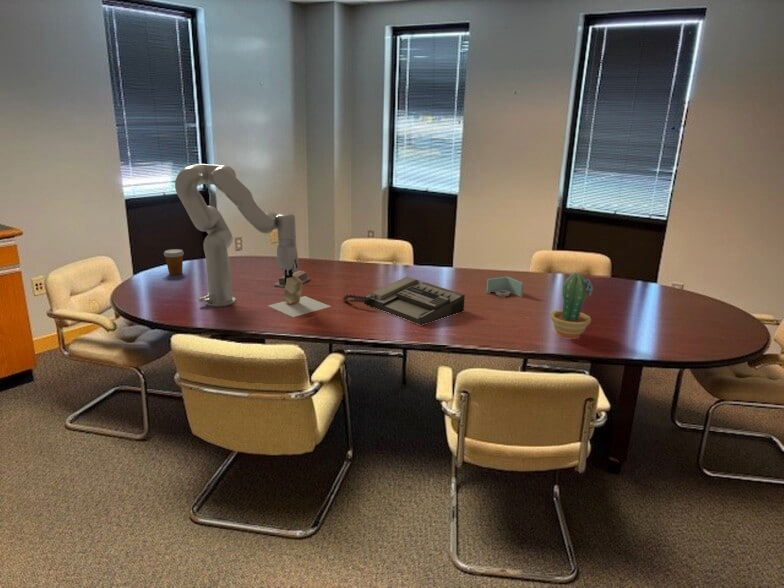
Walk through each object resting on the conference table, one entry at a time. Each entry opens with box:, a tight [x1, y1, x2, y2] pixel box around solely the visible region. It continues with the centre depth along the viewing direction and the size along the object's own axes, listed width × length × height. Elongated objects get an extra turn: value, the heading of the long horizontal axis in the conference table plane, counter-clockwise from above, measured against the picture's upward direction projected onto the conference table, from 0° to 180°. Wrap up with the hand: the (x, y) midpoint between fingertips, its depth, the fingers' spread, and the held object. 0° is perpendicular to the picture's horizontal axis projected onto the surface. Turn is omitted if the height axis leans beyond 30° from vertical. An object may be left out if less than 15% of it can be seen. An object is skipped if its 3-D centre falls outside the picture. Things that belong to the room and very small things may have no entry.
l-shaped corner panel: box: [485, 276, 525, 297], centre depth 265 cm, size 12×12×8 cm
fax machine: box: [341, 276, 466, 325], centre depth 246 cm, size 45×34×10 cm
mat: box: [267, 295, 331, 318], centre depth 243 cm, size 20×19×1 cm
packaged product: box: [273, 269, 311, 289], centre depth 277 cm, size 18×5×10 cm
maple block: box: [283, 276, 304, 305], centre depth 244 cm, size 5×5×11 cm
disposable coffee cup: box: [163, 248, 185, 276], centre depth 286 cm, size 10×10×12 cm
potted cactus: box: [549, 272, 594, 339], centre depth 215 cm, size 15×15×25 cm
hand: (288, 283), depth 246 cm, fingers closed
